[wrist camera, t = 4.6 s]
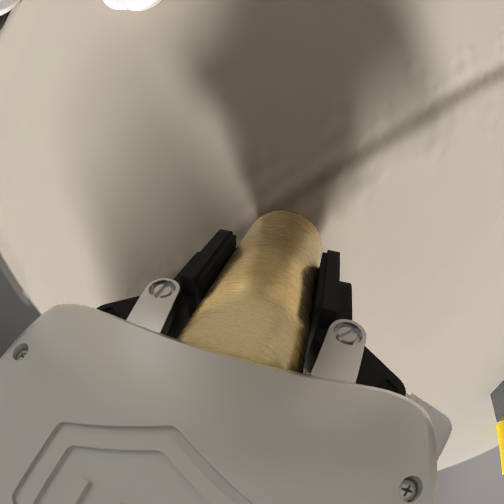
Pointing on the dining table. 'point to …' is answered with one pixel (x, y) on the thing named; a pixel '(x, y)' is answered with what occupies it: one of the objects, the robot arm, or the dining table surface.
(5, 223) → the dining table surface
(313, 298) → the cylinder
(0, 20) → the spread jar
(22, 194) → the dining table surface
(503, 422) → the yellow hollow cylinder
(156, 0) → the teacup and saucer
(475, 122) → the dining table surface
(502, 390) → the jig
